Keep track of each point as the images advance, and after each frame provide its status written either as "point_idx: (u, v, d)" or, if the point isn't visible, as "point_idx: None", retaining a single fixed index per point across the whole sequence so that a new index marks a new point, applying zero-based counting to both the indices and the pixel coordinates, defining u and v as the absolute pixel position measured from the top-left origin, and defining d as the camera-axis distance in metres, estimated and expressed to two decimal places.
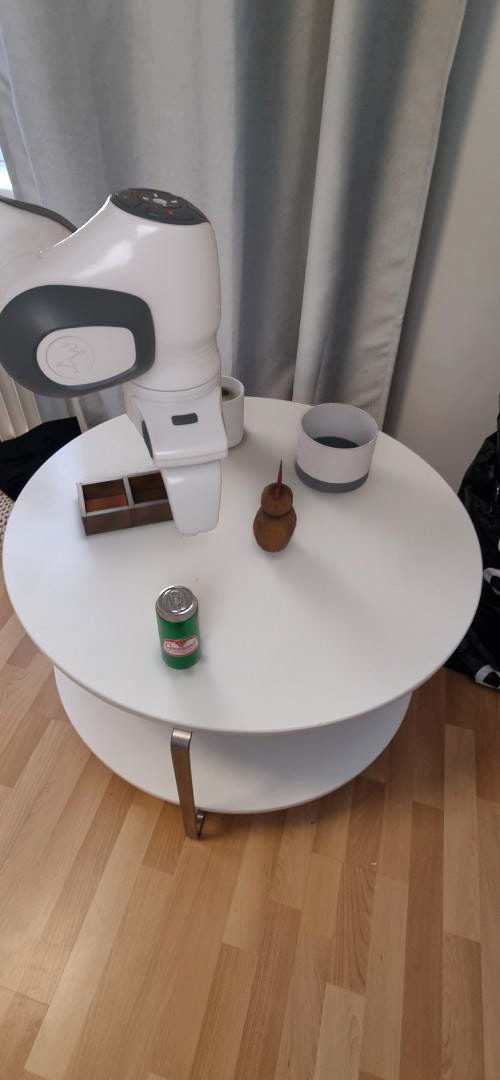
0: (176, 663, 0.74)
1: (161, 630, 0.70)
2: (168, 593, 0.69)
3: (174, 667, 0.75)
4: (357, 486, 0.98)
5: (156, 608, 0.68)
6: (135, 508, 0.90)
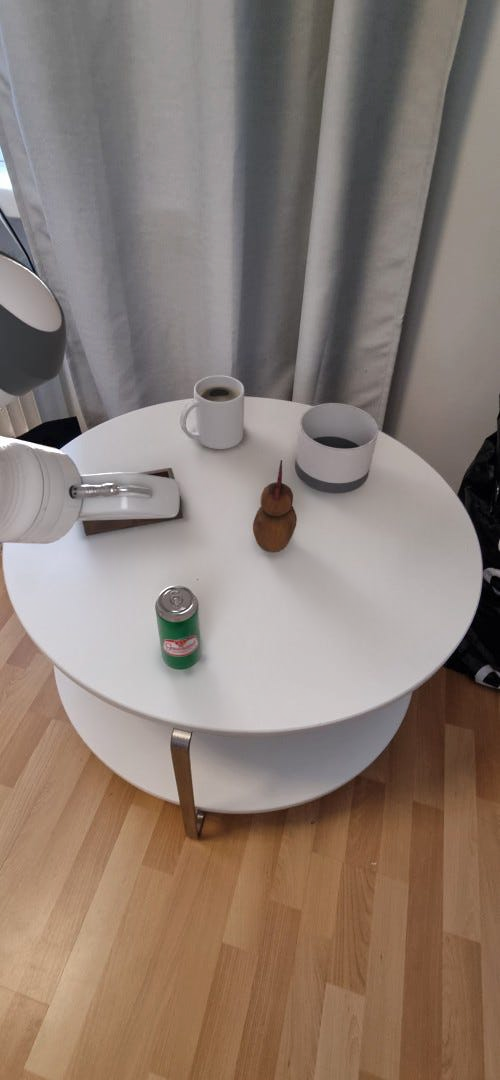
0: (176, 663, 0.74)
1: (161, 630, 0.70)
2: (168, 593, 0.69)
3: (174, 667, 0.75)
4: (357, 486, 0.98)
5: (156, 608, 0.68)
6: None
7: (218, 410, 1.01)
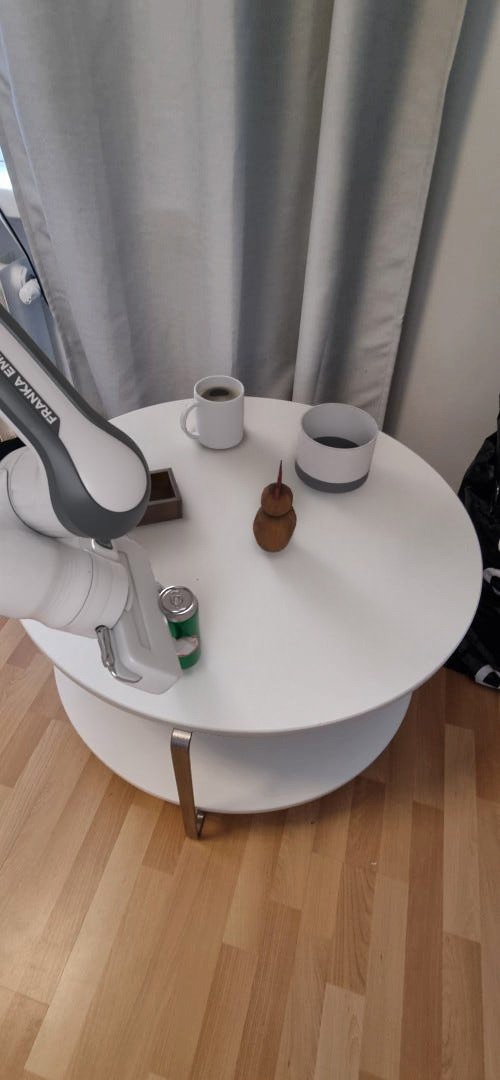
0: None
1: None
2: (169, 593, 0.69)
3: None
4: (357, 486, 0.98)
5: None
6: None
7: (218, 410, 1.01)
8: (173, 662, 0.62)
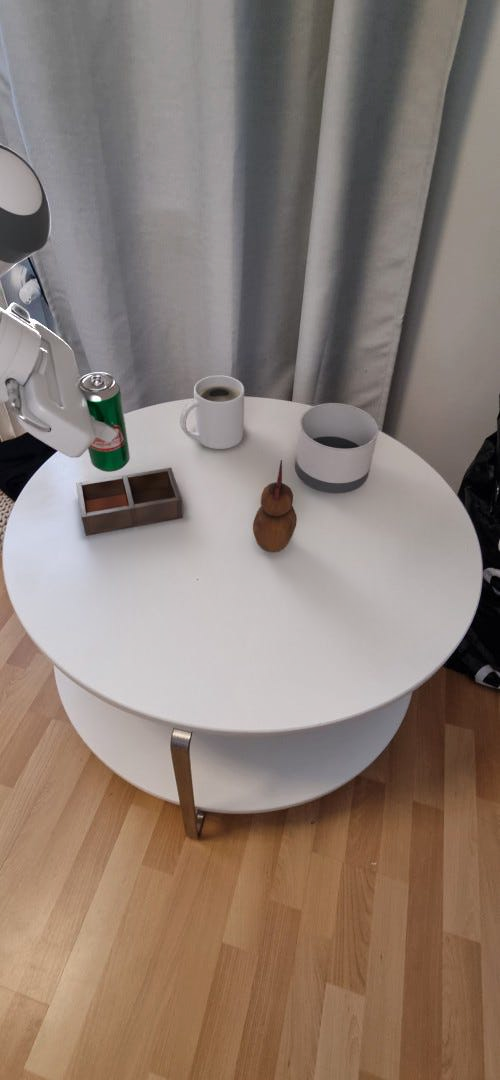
0: (102, 461, 0.74)
1: None
2: (90, 377, 0.69)
3: (101, 467, 0.75)
4: (357, 486, 0.98)
5: None
6: (135, 508, 0.90)
7: (218, 410, 1.01)
8: (86, 424, 0.63)
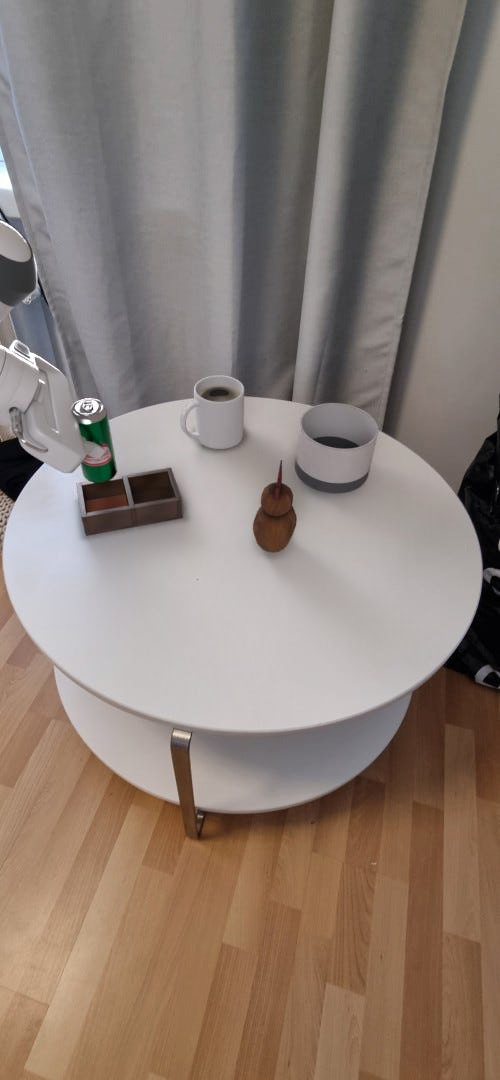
0: (93, 475, 0.85)
1: None
2: (81, 402, 0.80)
3: (92, 479, 0.86)
4: (357, 486, 0.98)
5: None
6: (135, 508, 0.90)
7: (218, 410, 1.01)
8: (77, 445, 0.74)
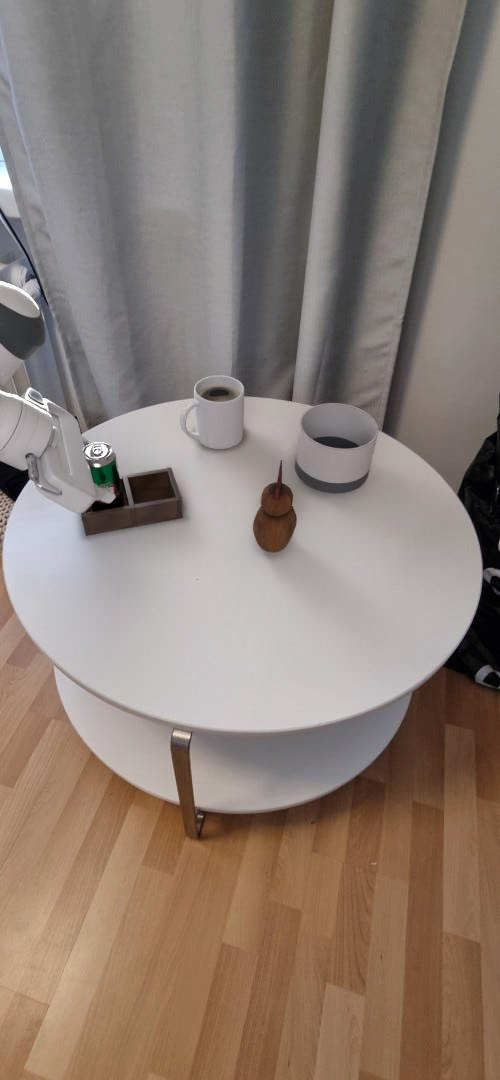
0: None
1: None
2: (91, 446, 0.86)
3: None
4: (357, 486, 0.98)
5: None
6: (135, 508, 0.90)
7: (218, 410, 1.01)
8: (89, 487, 0.79)
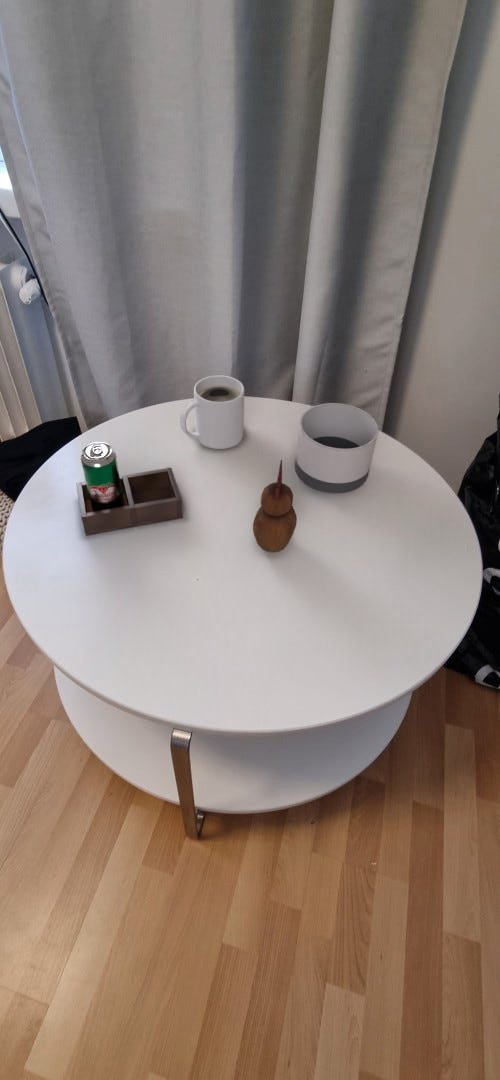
0: None
1: (86, 478, 0.87)
2: (91, 446, 0.86)
3: None
4: (357, 486, 0.98)
5: (81, 458, 0.85)
6: (135, 508, 0.90)
7: (218, 410, 1.01)
8: None
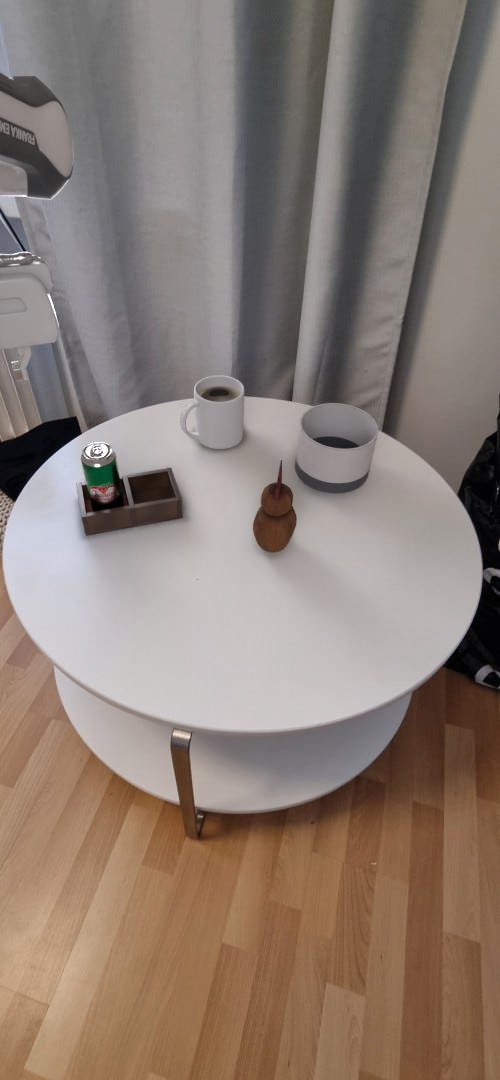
0: None
1: (86, 478, 0.87)
2: (91, 446, 0.86)
3: None
4: (357, 486, 0.98)
5: (81, 458, 0.85)
6: (135, 508, 0.90)
7: (218, 410, 1.01)
8: None
